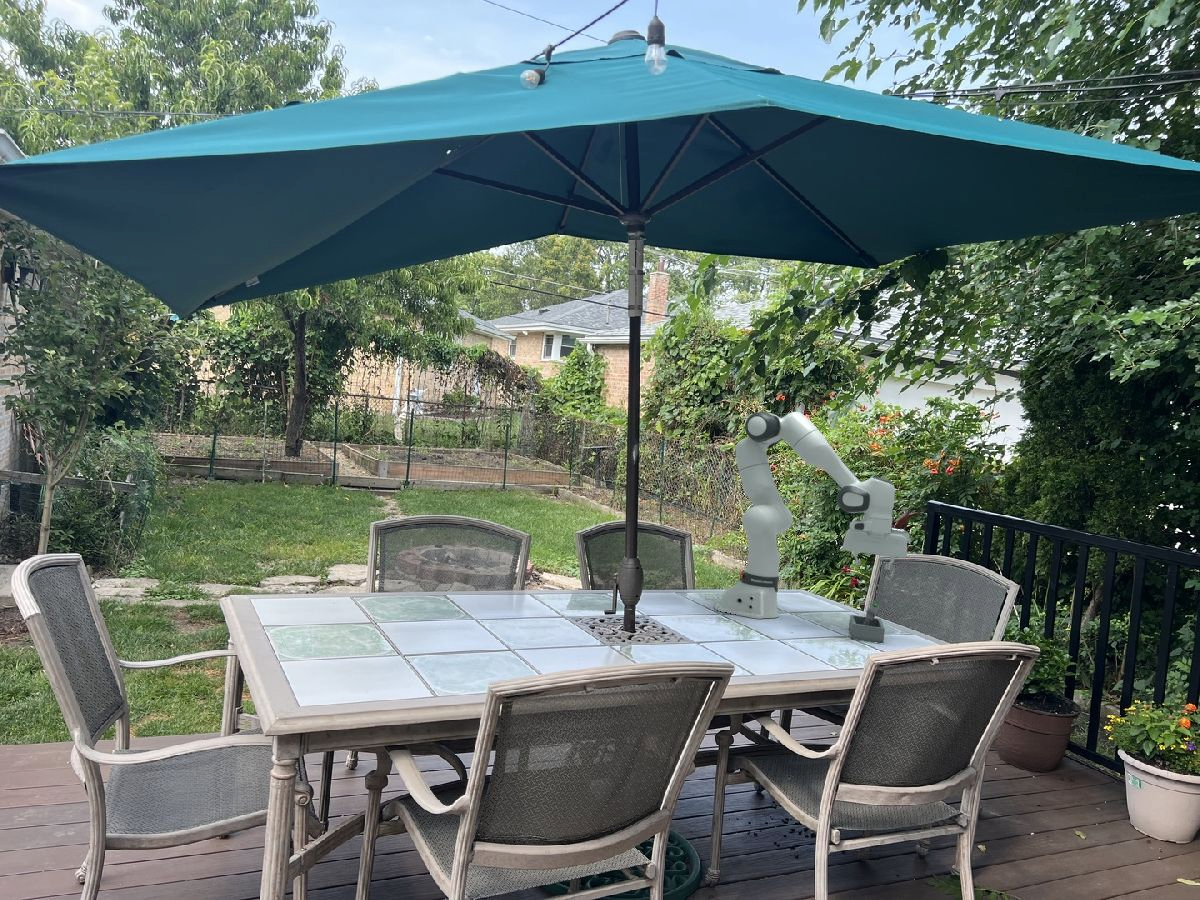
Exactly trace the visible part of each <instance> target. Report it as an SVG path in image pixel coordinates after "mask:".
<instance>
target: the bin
mask: <svg viewBox="0 0 1200 900" xmlns="http://www.w3.org/2000/svg"><path fill="white" fill-rule="evenodd" d="M865 617H866V616H863V615H856V614H850V615H849V624H848V626H849V627H848V632H849V631H850V632H849V635H851V636H850V640H853V639H857V640H856V641H860V640H864V641H863V642H866V641H870V642H869V643H873V642H877V643H876V644H880V643H883V644H884V640H885V639H884V638H885V630H886V628H885V626H884V624H883V621H882V618H876V617H874V619H873V620H872V622H871V621H870V623H869V625H868V626H867V623H866V624H865V625H863V624H864V622H865Z"/></svg>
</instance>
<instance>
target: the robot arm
mask: <svg viewBox="0 0 1200 900" xmlns="http://www.w3.org/2000/svg"><path fill="white" fill-rule="evenodd" d="M744 430H745V433H746V435H747V437H744V438H742V439H740V440H739V441H738V442H737V443H736V445H735V459H736V464H737V469H738V474H739V477H740V481H741V485H742V489H743V492H744V494H745V495H746V496H747V498H748V499H749V500H750V501H751V504H752V505H753V506H752V507H750V508H749V509H747V510H746V511H745V512H744V514H743V515H742V520H741V523H742V526H743V530H745V532H746V538H747V546H748V548H747V549H748V554H747V563H746V565H747V566H746V571H745V570H741V572H740V573H739V576H740V577H739V582H737V583H736V584H734V585H732V586H730V587H729V588H728V589H726V590H725V591H724V593H723V594H722V598H721V601H718V602H717V603H715V604H714V609H715V610H716V611H717V610H718V611H717V612H720V611H721V612H720V613H725V612H727V613H726V614H730V613H731V615H735V614H736V616H740V617H741V616H742V617H745V618H746V617H747V618H751V619H757V620H760V619H774V618H778V617H779V610H778V596H777V595H778V591H779V585H780V576H779V570H780V563H781V562H780V561H781V553H780V551H779V548H778V543H777V535H781V534H784V533H785V532H787V531H788V530H789V529H790V528H791V527H792V525H793V520H794V518H793V517H794V516H793V514H792V511H790V509H789V508H788V506H786V504H785V503H784V500H783V499H782V497H781V494H780V493H779V490H778V489H777V486H776V484H775V480H774V476H773V473H772V469H771V466H770V463H769V459H768V455H767V449H769V450H770V449H771V448H773V447H774V446H775V445H777V444H779V443H780V442H782V441H785V442H786V443H787V444H788V445H789V447H790V448H791V449H792V451H793V452H794V453H795V454H796V455H797V456H798V457H799V458H800V459H801V460H802V461H803V462H805V463H806V464H808V465H810V466H812V467H813V466H814V467H816V468H818V469H821V470H823V471H825V472H826V473H827V474H829V476H830V477H831V478H832V479H833V481H835V483H836V484H837V485H838V486H839V487H840V489H839V490H838V492H837V495H836V502H837V505H838V507H840V509H841V510H842V511H844V512H847V513H849V514H851V513H852V514H857V513H861V514H864V518H862V519H858V520H853V521H850V522H849V529H848V530H846V532H845V536H844V539H843V544H842V545H843V546H842V547H843V549H844V551H847V552H853V553H852V554H853V557H854V560H855V566H856V567H860V566H861V562H862V560H860V559H858V557H857V556H858V555H859V553H861V554H870V555H877V556H884V557H889V560H890V561H889V562H888V563H885V566H884V570H886V571H887V570H888V571H891V566H892V564H894V562H895V560H896V558H900V559H905V558H906V557H907V555H908V543H909V541H910V533H909V532H908V531H906V530H905V529H898V528H894V527H893V528H892V525H893V524H892V523H893V509H894V507H895V506H894V505H895V493H896V491H895V485H894V483H893V482H892V481H891V480H889V479H886V478H884V477H879V476H872V477H870V478H869V479H866V480H864V481H862V480H860V479H859V478H858V477H857V476H856V475H855V474H854V472H853V471H852V470H851V469H850V468H849V467H848V466H847V465H846V464H845V462H844V461H842V459H841V458H840V457H839V456H838V454H837V453H836V451H835V450H834V449H833V448H832V446H831V445H830V444H829V441H828V440H827V439H826V438H825V436H824V435H823V433H822V432H821V431H820V430H819V428H818V427H816V425H815V424H814V423H813V422H812V421H810V419H809V418H807V416H805V415H804V414H803V413H801V412H799V411H793V412H788V413H787V414H786V415H785V416H783V417H781V416H779V415H776V414H775V413H772V412H765V411H757V412H754V413H752V414H751V415H749V416H748V417H747V419H746V421H745V425H744Z"/></svg>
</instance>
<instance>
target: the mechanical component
mask: <svg viewBox="0 0 1200 900" xmlns="http://www.w3.org/2000/svg"><path fill="white" fill-rule="evenodd" d="M879 609H880V604H879V603H878V602H877V601H873V602H871V603H870V604H869V606H868V609H867V611H866V614H865V616H864V617H865V622H864V624H863V625H865V624H866V623H867V626H868V625H869V623H870V621H871V622H872V620H873V619H874V618H876V616H877V614H878V611H879Z"/></svg>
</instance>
